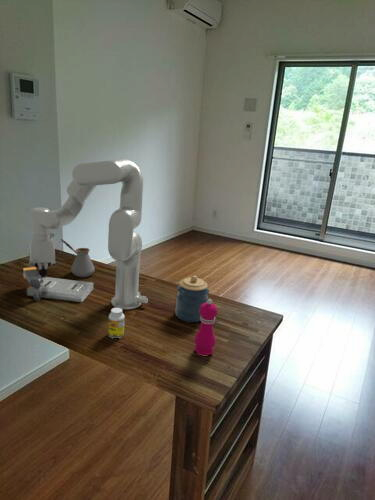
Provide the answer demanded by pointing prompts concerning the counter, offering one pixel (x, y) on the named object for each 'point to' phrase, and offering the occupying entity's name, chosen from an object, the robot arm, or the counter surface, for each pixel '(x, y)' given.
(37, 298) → the pivot post
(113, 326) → the supplement bottle
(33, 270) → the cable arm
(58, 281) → the panel
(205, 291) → the canister
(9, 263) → the counter surface
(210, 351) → the pepper mill
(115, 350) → the counter surface
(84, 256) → the coffee pot
